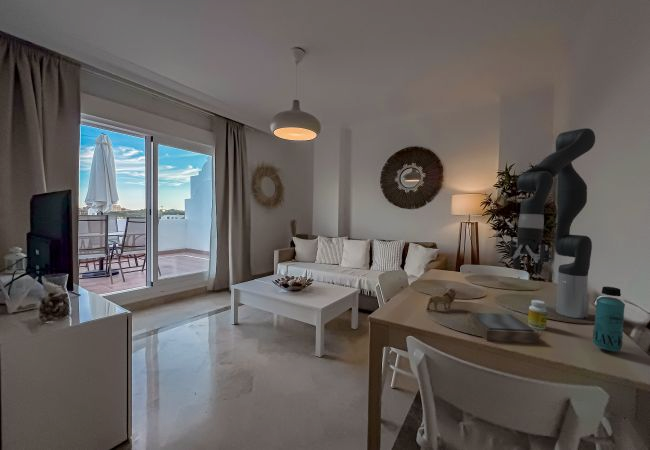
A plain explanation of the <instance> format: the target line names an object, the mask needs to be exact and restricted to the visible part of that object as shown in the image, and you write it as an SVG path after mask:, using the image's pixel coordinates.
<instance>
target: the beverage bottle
mask: <svg viewBox="0 0 650 450" xmlns="http://www.w3.org/2000/svg"><path fill="white" fill-rule="evenodd" d="M601 294H603V295H606V296H600V297H597V298H596V300H595V301H596V303H595V316H594V317H595V318H594V323H593V331H592V332H593V333H592V342H593V345H594V346H596V347H598V348H600V349H602V350H606V351H610V352H620V351H621V350H622V349H623V342H624V341H623V336H624V334H623V332H624V331H623V330H624V321H625V317H624V316H625V306H626V305H625V303H624V302H623V301H622V300H621V299H619V298H616V297H621V295H622V294H621V289H620V288H618V287H614V286H602V289H601ZM611 296H612V297H611Z"/></svg>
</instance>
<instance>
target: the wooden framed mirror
mask: <svg viewBox="0 0 650 450" xmlns="http://www.w3.org/2000/svg"><path fill="white" fill-rule="evenodd" d="M467 321H468V322H469V323H470V324H471V325H472V326H473V327H474V328H475V329H476V330H477V331H478V332H479V333H480V334H481V335H480V334H479V333H478V332H477V331H476V330H475V329H474V328H473V327H472V326H471V325H470V324H469V323H468V322H467V323H468V324H469V325H470V326H471V327H472V328H473V329H474V330H475V331H476V332H477V333H478V334H479V335H480V336H482V338H483V339H484V340H485V341H487V342H501V343H502V342H506V343H522V344H523V343H525V344H539V340H540V339H539V337H540V335H539V334H540V333H539V332H538V331H537V330H536V329H535V328H532V327H530V326H529V325H528V324H527V323H525V322H524V321H522V320H520V319H519V318H517V317H516V316H514V315H513V314H511V313H491V312H490V313H489V312H486V313H485V312H467Z"/></svg>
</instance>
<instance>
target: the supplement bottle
mask: <svg viewBox="0 0 650 450" xmlns="http://www.w3.org/2000/svg"><path fill="white" fill-rule="evenodd" d="M530 302H531V303H530V304H531V305H530V306H529V307H528V321H527V322H528V324H527V325H528V326H529V327H531V328H532V329H534V330H546V329H547V319H548V317H547V316H548V310H547V308H546V302H545V301H543V300H539V299H532V300H531V301H530Z"/></svg>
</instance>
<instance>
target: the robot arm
mask: <svg viewBox="0 0 650 450" xmlns="http://www.w3.org/2000/svg"><path fill="white" fill-rule="evenodd" d="M595 144H596V134H595V132H594V131H593V129H591V128H585V127H583V128H579V129H573V130H569V131H568V130H567V131H564V132H561V133H559V134H558V135H557V137H556V140H555V151H554V152H552V153H550V154H548V155H547V156H546V157H544V158H543V159H542V160H541V161H540V162H539V163H537V165H534V166H533V167H531V168H529V169H527V170H525V171H524V172H522V173H520V175H519V176H518V178H517V180H516V186H517V188H518V190H520V191H521V192H523V193H524V192H525V193H531V192H532V193H533V192H534V193H533V195H532V196H530V197H526V198H523V199H522V200H521V203H520V212H519V218H518V221H517V222H518V224H517V232H516V233H517V235H516V238H517V240H518V241H514V240H511V241H510V245H509V250H508V251H509V252H508V256H509V257H511V258H512V259H513V262H512V263H513V264H512V267H513V269H514V270H520V269H521V261H522V260H521V258H522V257H523V256H525V255H527V256H530V257H531V258H532V259H533V261H534V266H533V274H536V275H541V274H542V272H543V265H544V263H549V262H550V248H551V247H550V245H549V244H541V242H542V241H543V235H544V226H545V224H544V223H545V218H544V216H545V215H544V214H545V205H546V202H547V200H548V196H549V194H550V191H552V188H553V185H554V178H555V177H556V176H557V185H556V186H557V189H556V192H557V194H556V207H557V209H556V211H557V213H556V229H555V235H554V250H555V253H556V255H559V256H562V257H569V258H574V261H573V262H570V263H564V264H560V265H559V266H558V270H557V271H558V272H557V273H558V275H557V290H556V291H557V294H556V309H555V310H556V311H555V312H556V313H557V314H559V315H562V316H563V317H568V318H569V317H570V318H573V319H574V318H575V319H585V318H589V313H590V312H589V309H590V297H591V296H590V294H589V293H588V283H589V282H588V280H589V272H590V271H589V269H590V267H591V256H592V250H593V242H592V239H591V237H589V236H587V235H582V234H581V235H579V234H570V232H571V227H572V223H573V222H574V220H575V218H576V217H577V216H578V215H579V214H580V213H581V212H582V210H583V209H584V208H585V206H586V204H587V202H588V186H587V184H586V182H585V180H584V179H583V178H582V177H581V175H579V173H578V172H577V171H576V170H575V168H574V166H573V164H572V162H573V161H574V160H576V159H578V158H579V157H581V156H582V155H585V154H586V153H588V152H589V151H590V150H592V148H593V147H594V145H595ZM584 317H585V318H584Z"/></svg>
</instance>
